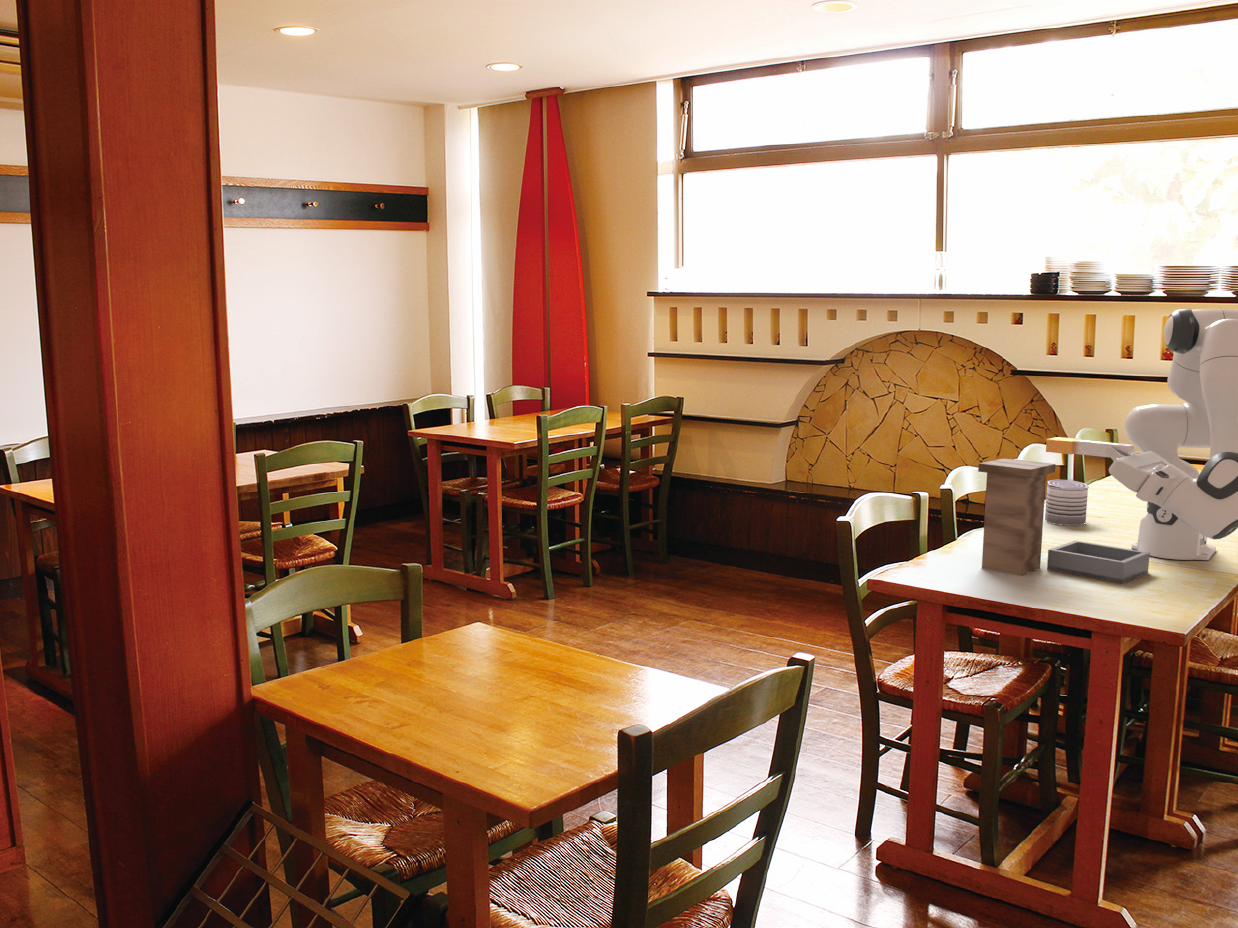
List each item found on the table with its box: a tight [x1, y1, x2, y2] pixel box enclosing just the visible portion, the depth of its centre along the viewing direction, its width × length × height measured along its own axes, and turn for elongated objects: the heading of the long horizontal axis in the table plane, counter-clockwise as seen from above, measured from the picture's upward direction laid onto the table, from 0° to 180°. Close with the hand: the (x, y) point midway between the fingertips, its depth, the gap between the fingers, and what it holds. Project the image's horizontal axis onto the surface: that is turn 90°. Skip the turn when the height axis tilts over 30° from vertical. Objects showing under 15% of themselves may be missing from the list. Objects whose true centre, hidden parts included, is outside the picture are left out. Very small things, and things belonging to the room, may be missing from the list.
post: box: [977, 458, 1057, 577], centre depth 257 cm, size 13×13×26 cm
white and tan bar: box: [1045, 436, 1135, 459], centre depth 242 cm, size 18×6×3 cm, turn 43°
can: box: [1044, 478, 1089, 526], centre depth 315 cm, size 11×11×12 cm
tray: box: [1046, 540, 1150, 584], centre depth 256 cm, size 15×18×5 cm
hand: (1111, 448), depth 238 cm, fingers closed on white and tan bar, 3 cm apart
